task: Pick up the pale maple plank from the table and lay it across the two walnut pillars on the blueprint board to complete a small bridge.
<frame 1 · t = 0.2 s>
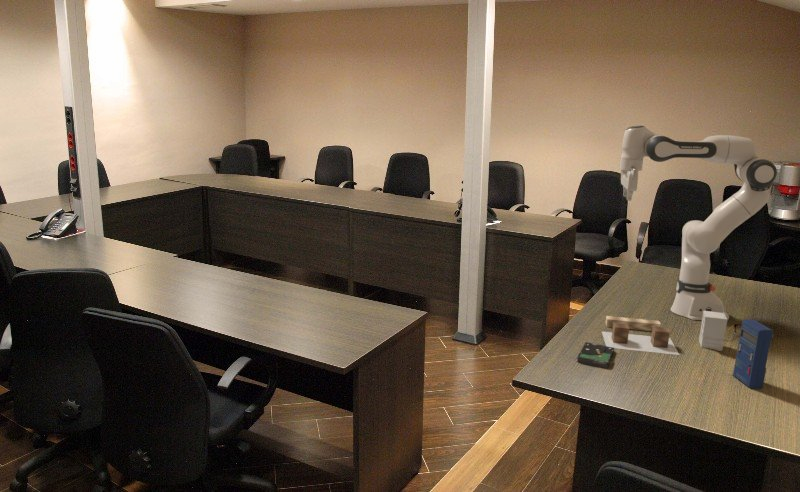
hand: (627, 198, 264), 47 cm above the table, tool pointing down, fingers open, 8 cm apart
plank: (632, 329, 250), on the table
disk drive: (595, 359, 222), on the table
eyeglasses: (747, 342, 241), on the table
supplement box: (709, 347, 235), on the table
electronic device: (747, 382, 206), on the table
blueprint board: (638, 344, 234), on the table
pillar 1: (619, 340, 236), point 1 cm above the table, touching blueprint board
pillar 2: (658, 344, 233), point 1 cm above the table, touching blueprint board
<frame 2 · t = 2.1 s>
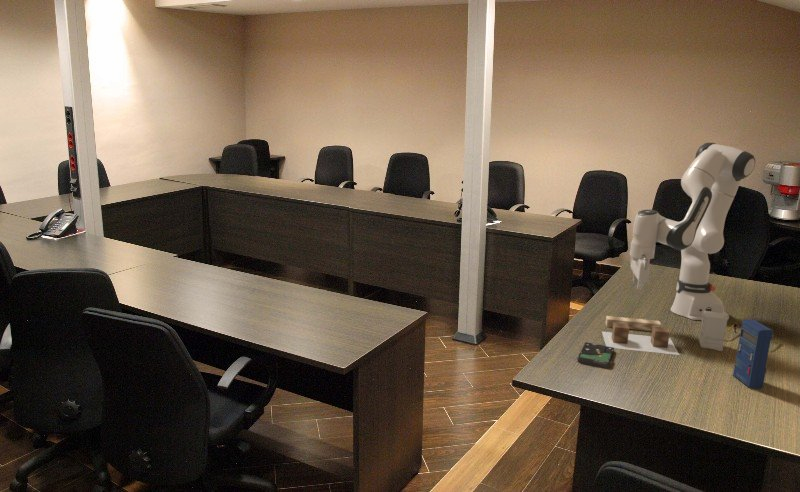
hand: (637, 286, 245), 17 cm above the table, tool pointing down, fingers open, 8 cm apart
nothing on the table moved.
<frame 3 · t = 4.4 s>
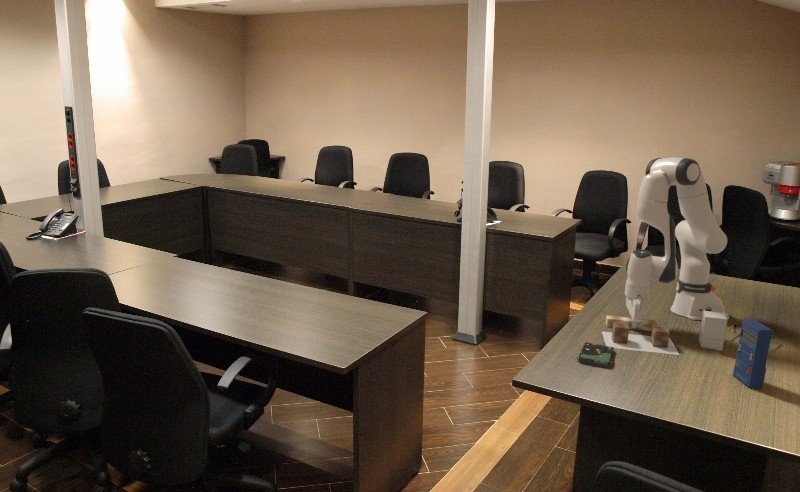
hand: (632, 324, 249), 2 cm above the table, tool pointing down, fingers closed on plank, 4 cm apart
plank: (632, 329, 250), on the table, touching gripper
everything else where it was.
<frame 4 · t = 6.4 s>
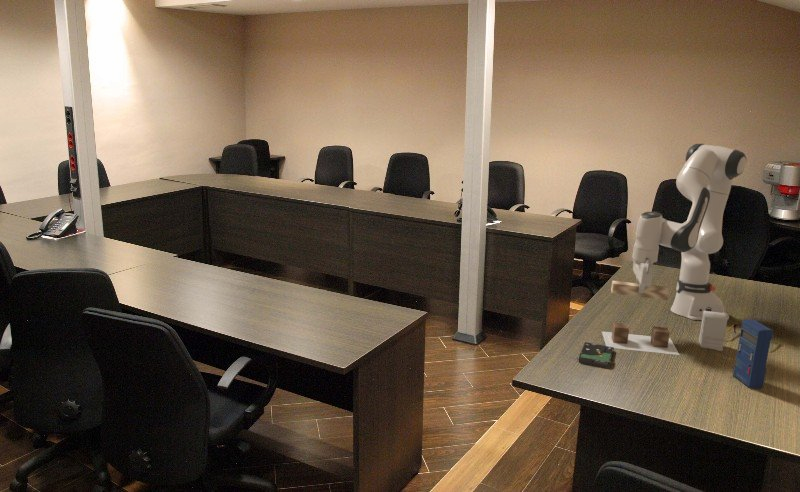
hand: (639, 290, 239), 18 cm above the table, tool pointing down, fingers closed on plank, 4 cm apart
plank: (638, 295, 240), point 16 cm above the table, touching gripper
everything else where it was.
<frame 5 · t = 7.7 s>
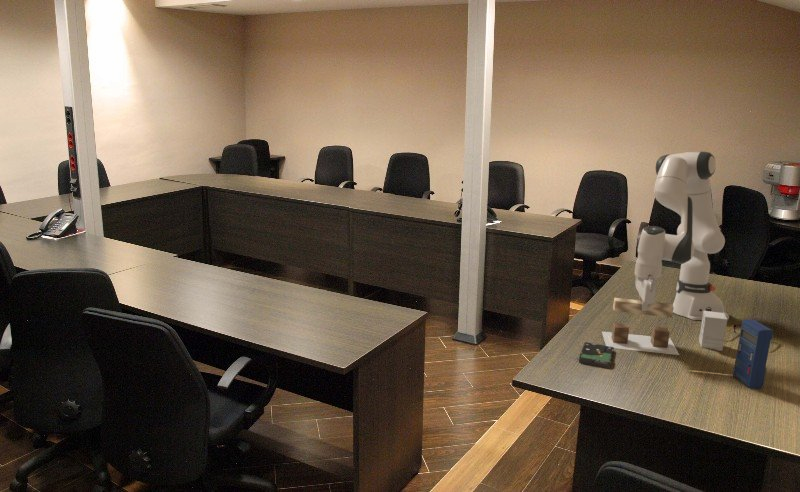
hand: (642, 307, 231), 14 cm above the table, tool pointing down, fingers closed on plank, 4 cm apart
plank: (641, 312, 232), point 12 cm above the table, touching gripper
everything else where it was.
when the fingers open (9 cm above the table, at t = 8.8 s): plank stays where it is, resting on pillar 2, pillar 1.
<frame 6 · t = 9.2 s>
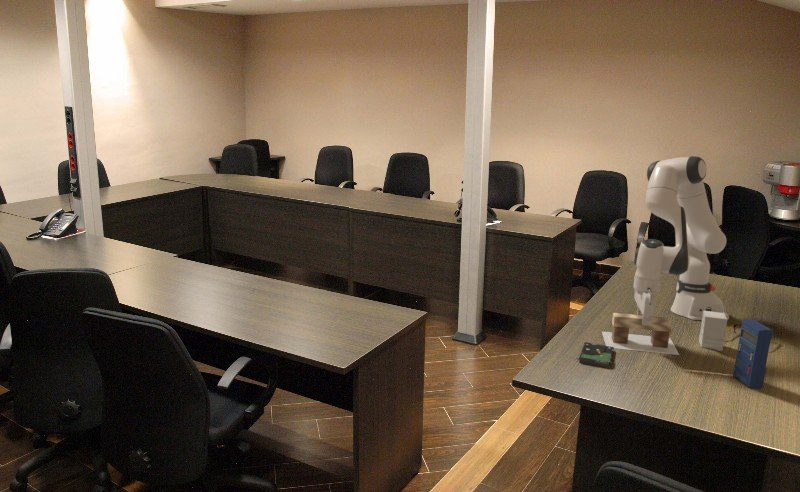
hand: (641, 320, 232), 9 cm above the table, tool pointing down, fingers open, 8 cm apart
plank: (640, 327, 233), point 7 cm above the table, touching pillar 2, pillar 1
pillar 1: (619, 340, 236), point 1 cm above the table, touching blueprint board, plank
pillar 2: (658, 344, 233), point 1 cm above the table, touching blueprint board, plank
everything else where it was.
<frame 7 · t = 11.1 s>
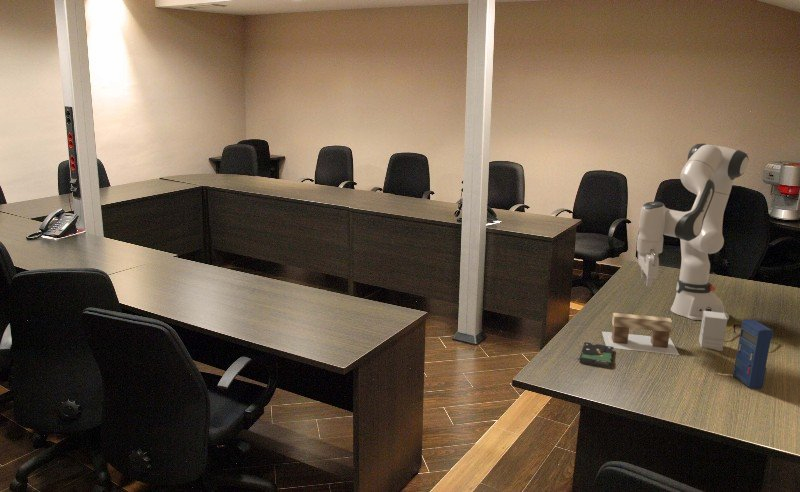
hand: (646, 282, 235), 22 cm above the table, tool pointing down, fingers open, 8 cm apart
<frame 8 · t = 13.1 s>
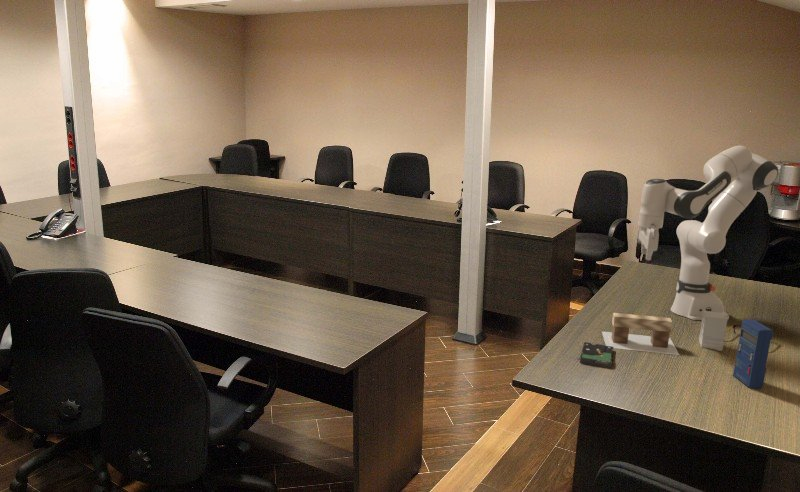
hand: (645, 256, 244), 29 cm above the table, tool pointing down, fingers open, 8 cm apart
at the end: plank 0.1 cm off-centre on the blueprint board, point 6.6 cm above the blueprint board's base; plank tilted 0°; the gripper is holding nothing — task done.
